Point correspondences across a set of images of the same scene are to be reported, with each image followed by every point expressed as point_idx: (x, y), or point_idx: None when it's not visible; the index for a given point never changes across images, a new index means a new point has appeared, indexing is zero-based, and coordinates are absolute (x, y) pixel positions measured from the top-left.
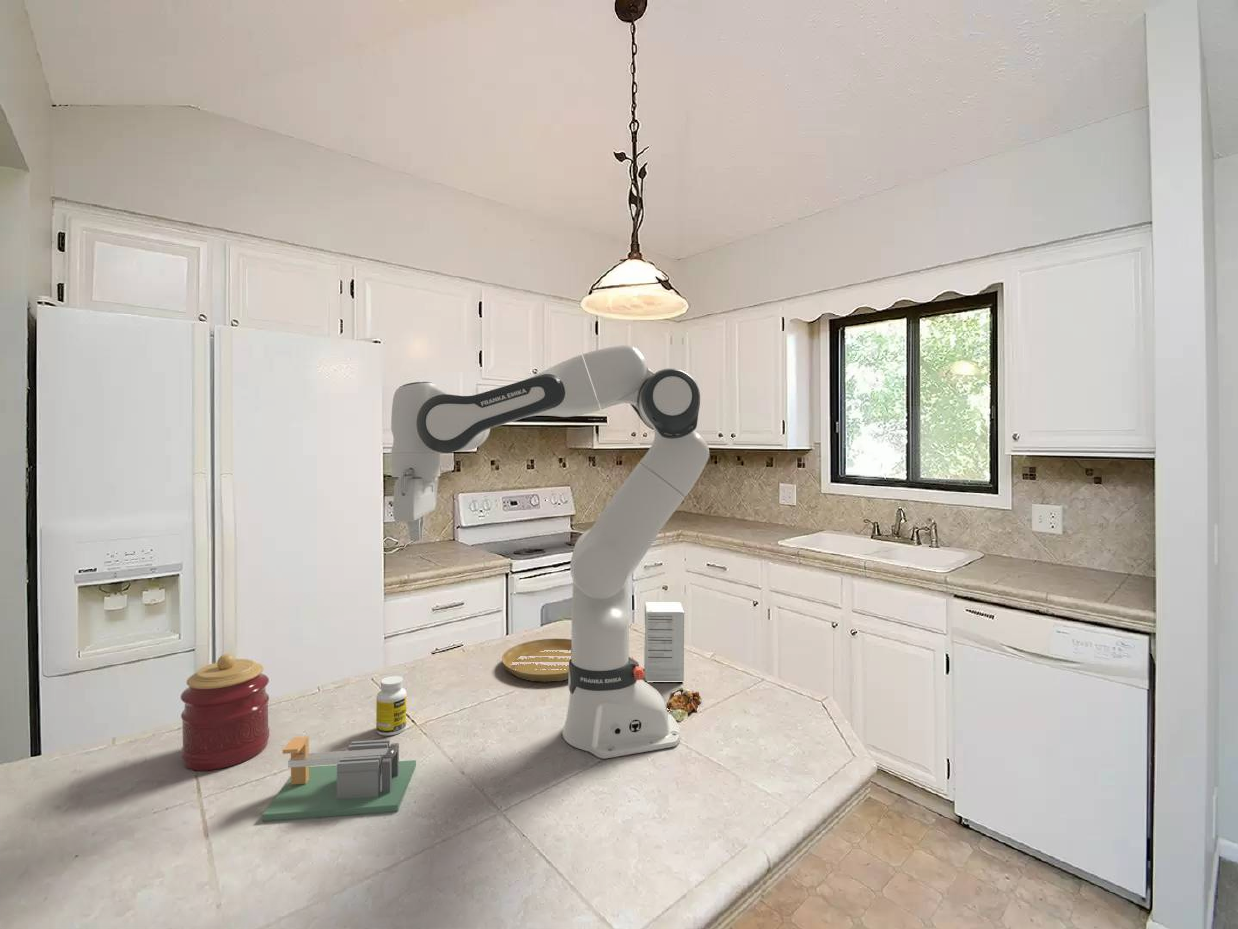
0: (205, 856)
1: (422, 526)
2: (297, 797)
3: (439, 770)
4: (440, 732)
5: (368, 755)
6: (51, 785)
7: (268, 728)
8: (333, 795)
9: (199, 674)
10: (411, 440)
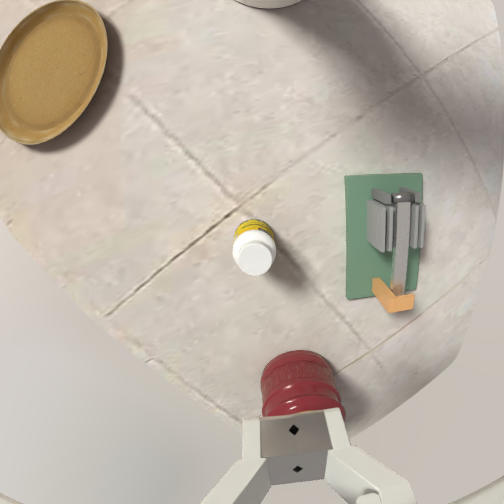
0: (440, 301)
1: (253, 476)
2: None
3: (354, 145)
4: (261, 167)
5: (409, 221)
6: None
7: (283, 363)
8: None
9: None
10: None
